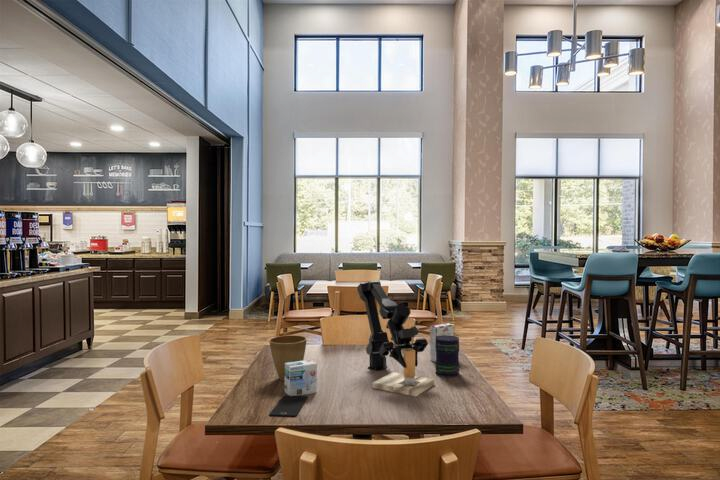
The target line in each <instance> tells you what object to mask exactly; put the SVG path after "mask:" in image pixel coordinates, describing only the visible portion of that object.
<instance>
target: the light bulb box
mask: <svg viewBox="0 0 720 480" xmlns="http://www.w3.org/2000/svg"><path fill="white" fill-rule="evenodd" d="M317 369H318V363H316V362H315V361H313V360H312V359H306V360H305V359H303V361H296V362H289V363H285V381H284V393H286V395H290V396H306V395H310V394H317V393H318V391H317V388H318V386H317V384H318V381H317V380H318V379H317V378H318V377H317V376H318V375H317V374H318V370H317Z"/></svg>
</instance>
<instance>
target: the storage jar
mask: <svg viewBox="0 0 720 480" xmlns="http://www.w3.org/2000/svg"><path fill="white" fill-rule="evenodd" d="M435 347H436V348H435V349H436V362H435V363H434V364H435V375H436V376H439V377H442V378H456V377H459V375H460V359H459V352H460V338H459V337H458V336H455V335H454V336H447V335H444V336H437V337H436V343H435Z"/></svg>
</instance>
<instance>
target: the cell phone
mask: <svg viewBox="0 0 720 480" xmlns="http://www.w3.org/2000/svg"><path fill="white" fill-rule="evenodd" d="M308 399H309V398H308V396H307V395H298V396H290V395H288V394H285V395H283V396H281V398H280V400H278V402H277V403H276V404H275V406H274V407H273V409H272V410H271V411H270V412H269V414H268V415H269V417H279V418H280V417H283V418H297V416H298V415H299V413H300V412H301V410H302V408H303V406H304V405H305V404H306V401H307V400H308Z"/></svg>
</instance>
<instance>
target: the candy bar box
mask: <svg viewBox="0 0 720 480" xmlns="http://www.w3.org/2000/svg"><path fill="white" fill-rule="evenodd" d="M444 335H447V336H455V324H454V323H453V324H452V323H449V322H447V323H440V324H433V325H429V340H430V341H429V342H430V343H429V347H430V349H429V350H430V355H429V357H430V361H431V362H433V363H436V349H435V348H436V347H435V343H436V337H437V336H444Z"/></svg>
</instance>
